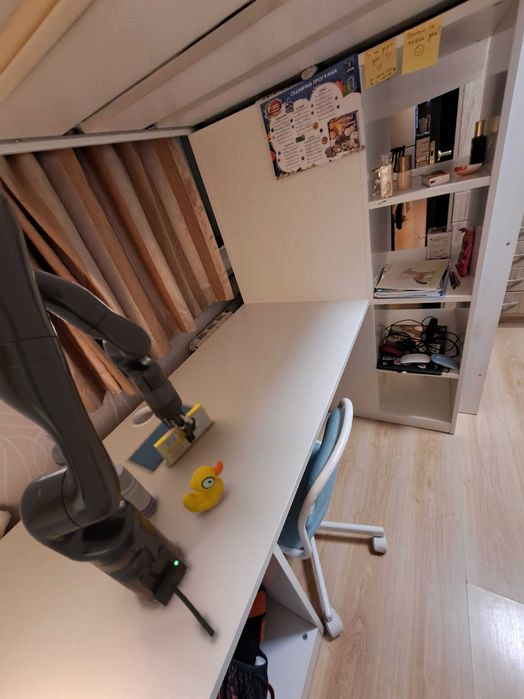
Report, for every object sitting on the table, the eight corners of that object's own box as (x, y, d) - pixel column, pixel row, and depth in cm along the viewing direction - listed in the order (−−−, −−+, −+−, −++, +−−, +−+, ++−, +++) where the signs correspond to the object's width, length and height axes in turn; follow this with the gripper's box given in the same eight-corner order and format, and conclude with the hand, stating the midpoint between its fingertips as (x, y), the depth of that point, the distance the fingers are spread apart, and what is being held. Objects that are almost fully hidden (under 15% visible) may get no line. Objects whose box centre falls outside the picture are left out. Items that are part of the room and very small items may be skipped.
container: (135, 508, 70) (100, 473, 62) (152, 494, 72) (120, 458, 64) (141, 522, 67) (105, 487, 59) (159, 507, 69) (126, 471, 61)
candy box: (208, 421, 88) (197, 402, 84) (212, 423, 87) (202, 404, 82) (166, 463, 79) (152, 444, 75) (171, 466, 78) (156, 447, 73)
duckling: (228, 474, 71) (214, 449, 66) (239, 490, 67) (224, 464, 61) (187, 506, 67) (169, 483, 62) (196, 525, 63) (177, 501, 57)
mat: (202, 411, 93) (202, 410, 92) (153, 470, 78) (153, 470, 78) (178, 405, 98) (178, 404, 98) (129, 459, 84) (128, 458, 84)
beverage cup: (108, 460, 86) (65, 415, 75) (105, 480, 80) (59, 434, 69) (83, 472, 85) (36, 428, 74) (79, 493, 79) (27, 449, 68)
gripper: (133, 401, 74) (163, 443, 83) (169, 412, 67) (198, 457, 76) (154, 382, 79) (180, 423, 88) (189, 390, 72) (214, 434, 81)
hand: (188, 439), depth 82 cm, fingers closed on candy box, 2 cm apart
